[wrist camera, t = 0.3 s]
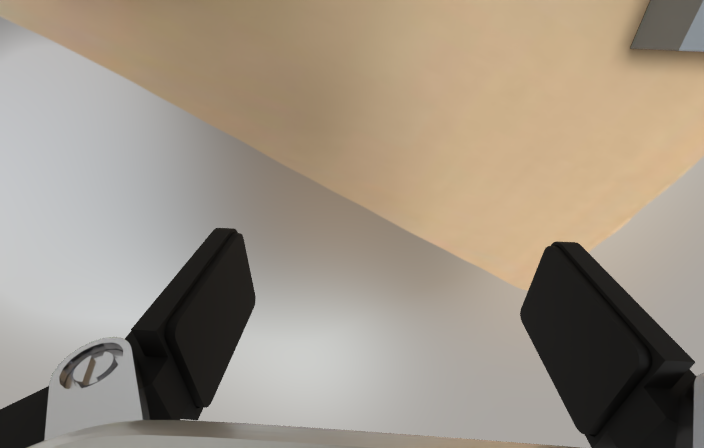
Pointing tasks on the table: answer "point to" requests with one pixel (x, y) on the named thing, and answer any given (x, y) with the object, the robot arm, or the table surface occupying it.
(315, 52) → the table surface
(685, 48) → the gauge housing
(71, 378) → the robot arm
